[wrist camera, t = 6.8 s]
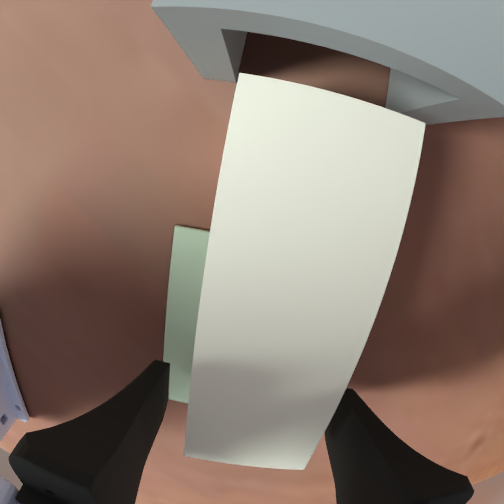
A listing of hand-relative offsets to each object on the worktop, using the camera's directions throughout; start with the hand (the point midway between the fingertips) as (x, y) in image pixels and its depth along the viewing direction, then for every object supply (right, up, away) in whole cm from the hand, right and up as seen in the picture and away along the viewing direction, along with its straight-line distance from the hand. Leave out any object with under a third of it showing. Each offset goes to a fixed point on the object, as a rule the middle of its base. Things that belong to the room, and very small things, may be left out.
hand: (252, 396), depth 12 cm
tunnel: (+3, +14, -2) cm, 14 cm away
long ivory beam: (+1, +5, 0) cm, 5 cm away
